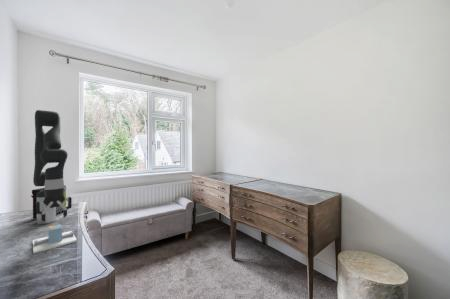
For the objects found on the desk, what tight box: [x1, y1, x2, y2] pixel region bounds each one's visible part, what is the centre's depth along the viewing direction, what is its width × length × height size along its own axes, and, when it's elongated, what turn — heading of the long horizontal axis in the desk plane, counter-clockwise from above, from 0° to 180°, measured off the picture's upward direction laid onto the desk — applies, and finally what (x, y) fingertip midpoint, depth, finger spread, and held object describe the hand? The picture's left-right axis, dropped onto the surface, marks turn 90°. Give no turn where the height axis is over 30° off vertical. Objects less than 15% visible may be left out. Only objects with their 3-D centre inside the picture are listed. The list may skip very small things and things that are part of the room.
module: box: [47, 224, 63, 244], centre depth 100 cm, size 7×5×7 cm
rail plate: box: [32, 230, 78, 254], centre depth 100 cm, size 16×16×2 cm
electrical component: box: [30, 185, 67, 219], centre depth 141 cm, size 18×10×20 cm, turn 168°
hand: (54, 219), depth 99 cm, fingers open, 7 cm apart
